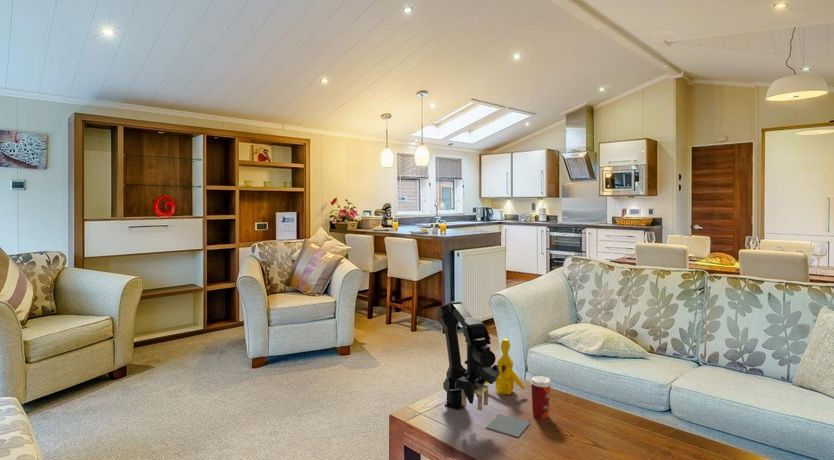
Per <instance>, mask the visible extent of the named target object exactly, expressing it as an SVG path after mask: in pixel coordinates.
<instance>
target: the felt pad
mask: <svg viewBox="0 0 834 460" xmlns="http://www.w3.org/2000/svg"><path fill="white" fill-rule="evenodd" d="M530 425H531V422H530V421H527V420H523V419H519V418H516V417H512V416H509V415H506V414H501V413H499V414H498V415H497V416H496V417H495V418H494V419H493V420H492V421H490V422H489V423H488V424H487V425H486V426H485V428H486V429H488V430H491V431H494V432H498V433H501V434H504V435H507V436H511V437H514V438H516V439H517V438H518V439H519V437H520V436H521V435H522V434H523V433H524V431H525V430H526V429H527V428H528V427H529V426H530Z"/></svg>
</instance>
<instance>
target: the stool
mask: <svg viewBox="0 0 834 460" xmlns="http://www.w3.org/2000/svg"><path fill="white" fill-rule="evenodd" d="M476 386H477V387H478V388H477V389H475V391H474V395H476V394H478V398H477V411H480V412H481V411H482V410H483V405H484V406H488V405H489V385H487V384H486V385H485V384H484V385H482V384H478V383H476ZM466 405H467V397H466V394H465V393H464V391H463V390H462V406H463V407H466Z"/></svg>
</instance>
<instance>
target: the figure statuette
mask: <svg viewBox="0 0 834 460" xmlns="http://www.w3.org/2000/svg"><path fill="white" fill-rule="evenodd" d="M500 349H501V352H502V355H501V357H500V358H498V360H497V364H496V365H497V366H499V371H500V372H499V373H500V375H499V376H498V377H497V380H496V381H495V388H496V393H497V395H511V394H512V392H513V390H514V388H515V383H516V385H518V386H519V387H520V388H521V389H522V390H525V389H526V387H525V385H524V384H523V382H522V381H521V380H520V378H519V377H518V375H517V374H516V373H515V372H514V370H513V367H514V361H513V360H512V358H511V357H510V355H509V351H510V349H511V342H510V339H509V338H503V339H502V341H501V343H500ZM487 384H489V383H488V382H487V381H486V382H485V383H484V385H486V386H487Z"/></svg>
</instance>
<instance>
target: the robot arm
mask: <svg viewBox="0 0 834 460" xmlns="http://www.w3.org/2000/svg"><path fill="white" fill-rule="evenodd" d="M437 317H438V318H439V323H440V325H441V326H442V327H443V329H444V332H445V341H446V348H447V357H448V369H447V371H446V378H445V380H444V381H443V382H442V385H443V386H442V387H443V390H444V391H445V392H446V403H444V406H445V407H448V408H451V409H454V410H461V408H463V407H464V406H462V390H463V391H464V393H465V394H466V400H467V401H468V403H469V404H471V405H472V404H474V398H475V396H476V397H477V399H478V394H474V391H475V389H477V388H478V387H477V386H476V383H478V384H482V385H485V384H484V383H485V382H486V381H487V382H488V383H487V384H490V385H493V384H494V383H496V380H497V377H498V376H499V375H500V373H499V372H500V371H499V366H497V364H495V363H496V355H495V354H496V353H494V352H493V351H492V350H491V347H490V346H488V345H491V344H492V343H491V337H490V334H489V331H488V329H487V325H485V323H484V322H483V321H481V320H480V319H477V318H474V317H473V316H472V315H471V313H470V312H469V311H468V310H467V309H466V307H465V306H464V305H463V301H459V300H457V301H451V302H448V303H447V304H445V305H443V306H440V307H439V308H438V310H437ZM459 323H460V325H461V327H462V328H463V329H462V334H463V336H464V338H465V340H464V341H465V343H466V359H465V360H464V365H466V368H465V367H464V366H463V365H462V359H461V352H460V345H459V337H458V330H457V327H458V324H459Z"/></svg>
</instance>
